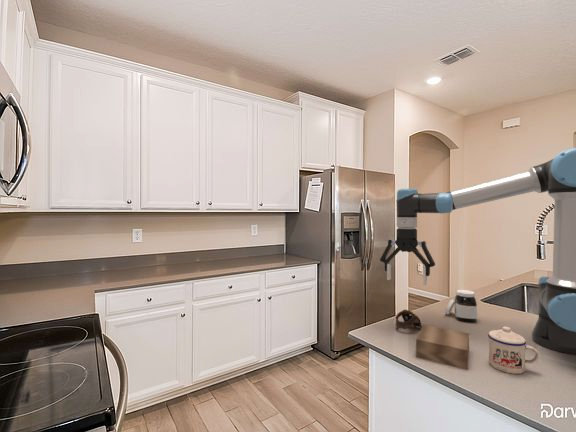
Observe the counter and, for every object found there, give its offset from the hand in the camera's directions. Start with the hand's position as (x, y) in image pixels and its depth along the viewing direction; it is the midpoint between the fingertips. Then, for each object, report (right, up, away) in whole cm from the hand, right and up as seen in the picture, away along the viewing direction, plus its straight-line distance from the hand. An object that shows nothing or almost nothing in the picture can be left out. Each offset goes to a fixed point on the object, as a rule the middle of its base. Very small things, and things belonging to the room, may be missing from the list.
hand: (406, 281), depth 117 cm
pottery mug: (+1, -19, 0) cm, 19 cm away
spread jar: (+28, -18, +11) cm, 35 cm away
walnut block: (+4, -19, -21) cm, 28 cm away
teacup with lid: (+19, -19, -30) cm, 40 cm away
